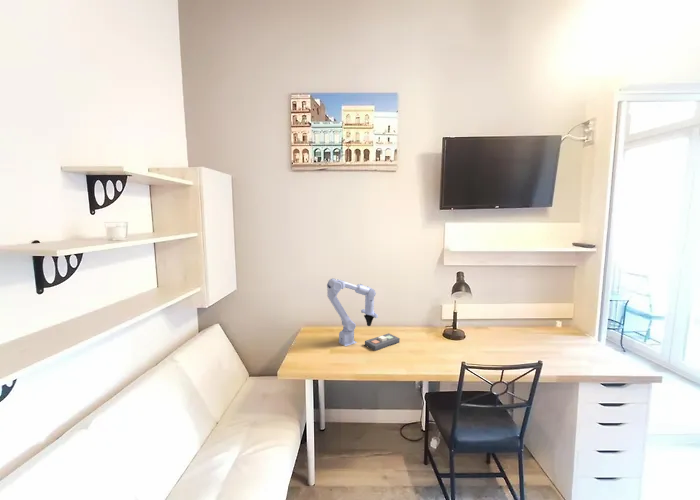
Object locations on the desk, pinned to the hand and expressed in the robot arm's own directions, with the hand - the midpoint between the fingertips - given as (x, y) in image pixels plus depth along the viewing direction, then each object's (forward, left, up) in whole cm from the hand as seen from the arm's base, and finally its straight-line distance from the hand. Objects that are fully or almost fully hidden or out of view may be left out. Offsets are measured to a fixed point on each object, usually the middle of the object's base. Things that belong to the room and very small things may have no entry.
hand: (369, 325), depth 219 cm
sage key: (+8, -11, -8) cm, 16 cm away
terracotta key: (-4, -11, -8) cm, 14 cm away
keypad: (+2, -11, -9) cm, 15 cm away
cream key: (+2, -11, -7) cm, 13 cm away
